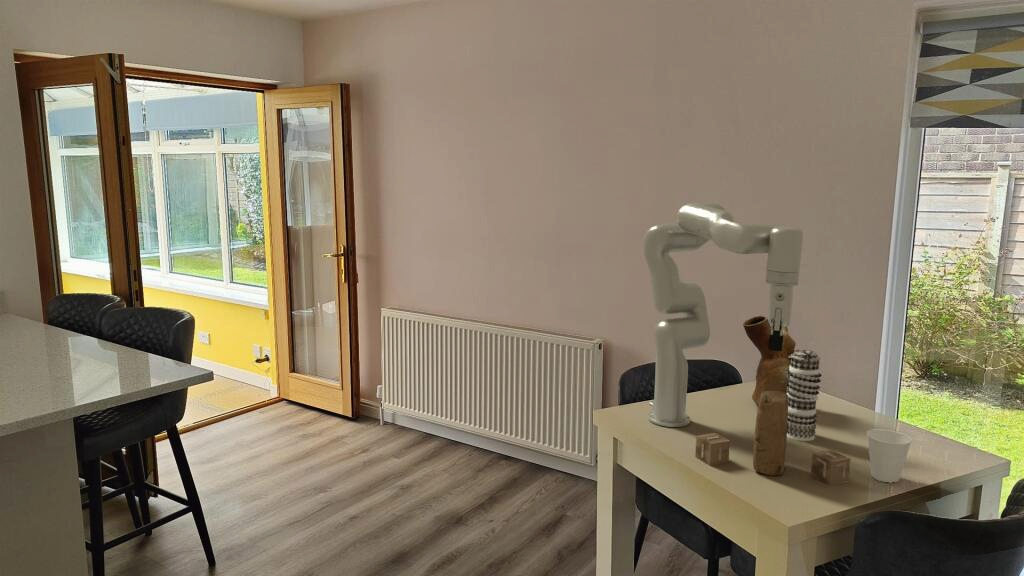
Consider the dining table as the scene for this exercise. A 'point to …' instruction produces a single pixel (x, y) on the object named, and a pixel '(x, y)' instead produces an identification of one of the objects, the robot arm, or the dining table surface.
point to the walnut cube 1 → (712, 449)
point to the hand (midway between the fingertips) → (775, 349)
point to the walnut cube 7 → (830, 467)
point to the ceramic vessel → (769, 357)
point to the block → (771, 433)
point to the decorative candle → (802, 394)
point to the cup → (887, 454)
